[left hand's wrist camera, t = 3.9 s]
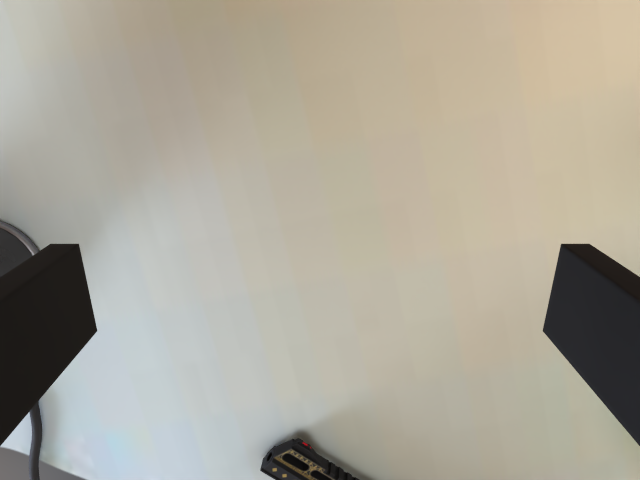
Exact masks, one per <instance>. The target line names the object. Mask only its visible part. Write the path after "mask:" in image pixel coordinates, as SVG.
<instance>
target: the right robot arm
mask: <svg viewBox="0 0 640 480" xmlns="http://www.w3.org/2000/svg"><path fill="white" fill-rule="evenodd" d="M38 252H39V251H38V249H37V248H36V246H35V245H34V244H33V242H32V241H31V240H30V239H29V238H28V237H27V236H26V235H24V234H23V233H22V232H21V231H19V230H18V229H16V228H15V227H13V226H11V225H9V224H7V223H4V222H1V221H0V277H1V276H3V275H4V274H6V273H7V272H9V271H10V270H12V269H13V268H15V267H16V266H18V265H19V264H21V263H22V262H24V261H26V260H27V259H29V258H30V257H32V256H33V255H35V254H36V253H38ZM29 412H30V417H31V423H32V442H31V449H30V456H29V475H30V480H40V479H39V467H38V463H39V453H40V447H41V440H42V423H41V416H40V410H39V405H38V402H37V403H36V404H35V405H34V406H33V408H32V409H31V410H30V411H29Z"/></svg>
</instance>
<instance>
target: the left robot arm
mask: <svg viewBox="0 0 640 480" xmlns="http://www.w3.org/2000/svg"><path fill="white" fill-rule="evenodd" d="M96 332H97V328H96V323H95V318H94V314H93V309H92V304H91V299H90V295H89V290H88V285H87V280H86V276H85V271H84V266H83V262H82V257H81V252H80V247H79V244H50V245H48V246H47V247H45V248H44V249H42V250H41V251H39V252H38V253H36V254H35V255H33V256H32V257H30V258H29V259H27V260H26V261H24V262H22V263H21V264H19V265H18V266H16V267H15V268H13V269H12V270H10V271H9V272H7V273H6V274H4V275H3V276H1V277H0V446H1V444H2V443H3V442H4V441H5V440H6V439H7V437H8V436H9V435H10V434H11V433H12V431H13V430H14V429H15V428H16V427H17V425H18V424H19V423H20V422H21V421H22V420H23V418H24V417H25V416H26V415H27V414H28V412H29V411H30V410H31V409H32V408H33V406H34V405H35V404H36V403H37V402H38V401H39V399H40V398H41V397H42V396H43V395H44V393H45V392H46V391H47V390H48V389H49V387H50V386H51V385H52V384H53V383H54V382H55V380H56V379H57V378H58V377H59V376H60V374H61V373H62V372H63V371H64V370H65V368H66V367H67V366H68V365H69V364H70V363H71V361H72V360H73V359H74V358H75V357H76V355H77V354H78V353H79V352H80V351H81V349H82V348H83V347H84V346H85V345H86V344H87V342H88V341H89V340H90V339H91V338H92V336H93V335H94V334H95V333H96ZM543 332H544V333H545V334H546V335H547V336H548V338H549V339H550V340H551V341H552V342H553V344H554V345H555V346H556V347H557V348H558V349H559V351H560V352H561V353H562V354H563V355H564V357H565V358H566V359H567V360H568V361H569V363H570V364H571V365H572V366H573V367H574V368H575V370H576V371H577V372H578V373H579V374H580V376H581V377H582V378H583V379H584V380H585V382H586V383H587V384H588V385H589V386H590V387H591V389H592V390H593V391H594V392H595V393H596V395H597V396H598V397H599V398H600V399H601V401H602V402H603V403H604V404H605V405H606V406H607V408H608V409H609V410H610V411H611V412H612V414H613V415H614V416H615V417H616V418H617V420H618V421H619V422H620V423H621V424H622V425H623V427H624V428H625V429H626V430H627V431H628V433H629V434H630V435H631V436H632V437H633V439H634V440H635V441H636V442H637V443H638V444H639V446H640V277H639V276H637V275H636V274H634V273H633V272H631V271H630V270H628V269H627V268H625V267H624V266H622V265H621V264H619V263H618V262H616V261H614V260H613V259H611V258H610V257H608V256H607V255H605V254H604V253H602V252H601V251H599V250H598V249H596V248H595V247H593V246H592V245H590V244H561V247H560V252H559V257H558V262H557V266H556V271H555V276H554V280H553V285H552V290H551V295H550V299H549V304H548V309H547V314H546V318H545V323H544V328H543Z"/></svg>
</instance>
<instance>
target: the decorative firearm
mask: <svg viewBox="0 0 640 480" xmlns="http://www.w3.org/2000/svg"><path fill="white" fill-rule="evenodd" d="M260 471H262V472H263V473H265V474H267V475H268V476H270V477H272V478H273V479H275V480H359V479H357V478H356V477H355V478H354V477H352V475H351V474H349V473H348V472H347V473H346V472H344V470H343V469H341V468H340V467H336V466H335V464H333V463H332V462H329V460H326V459H325V458H323V457H321V456H320V455H318V454H317V453H316V452H315V451H314V450H313V449H312V448H311V446H310V445H309V444H306V443H305V442H303V440H301V439H296V440H294V439H292V440H290V441H288V442H286V443H284V444H282V445H280V446H278V447H274V448H272V449H271V450H270V451H269V452H268V453H267V455H266V457H265V458H263V461H262V465H261V470H260Z"/></svg>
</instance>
